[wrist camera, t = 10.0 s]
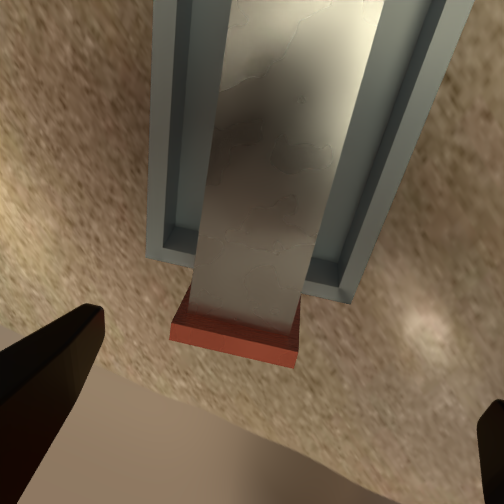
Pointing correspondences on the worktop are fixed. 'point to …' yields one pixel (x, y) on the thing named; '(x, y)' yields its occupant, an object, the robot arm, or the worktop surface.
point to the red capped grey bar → (272, 169)
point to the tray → (355, 145)
